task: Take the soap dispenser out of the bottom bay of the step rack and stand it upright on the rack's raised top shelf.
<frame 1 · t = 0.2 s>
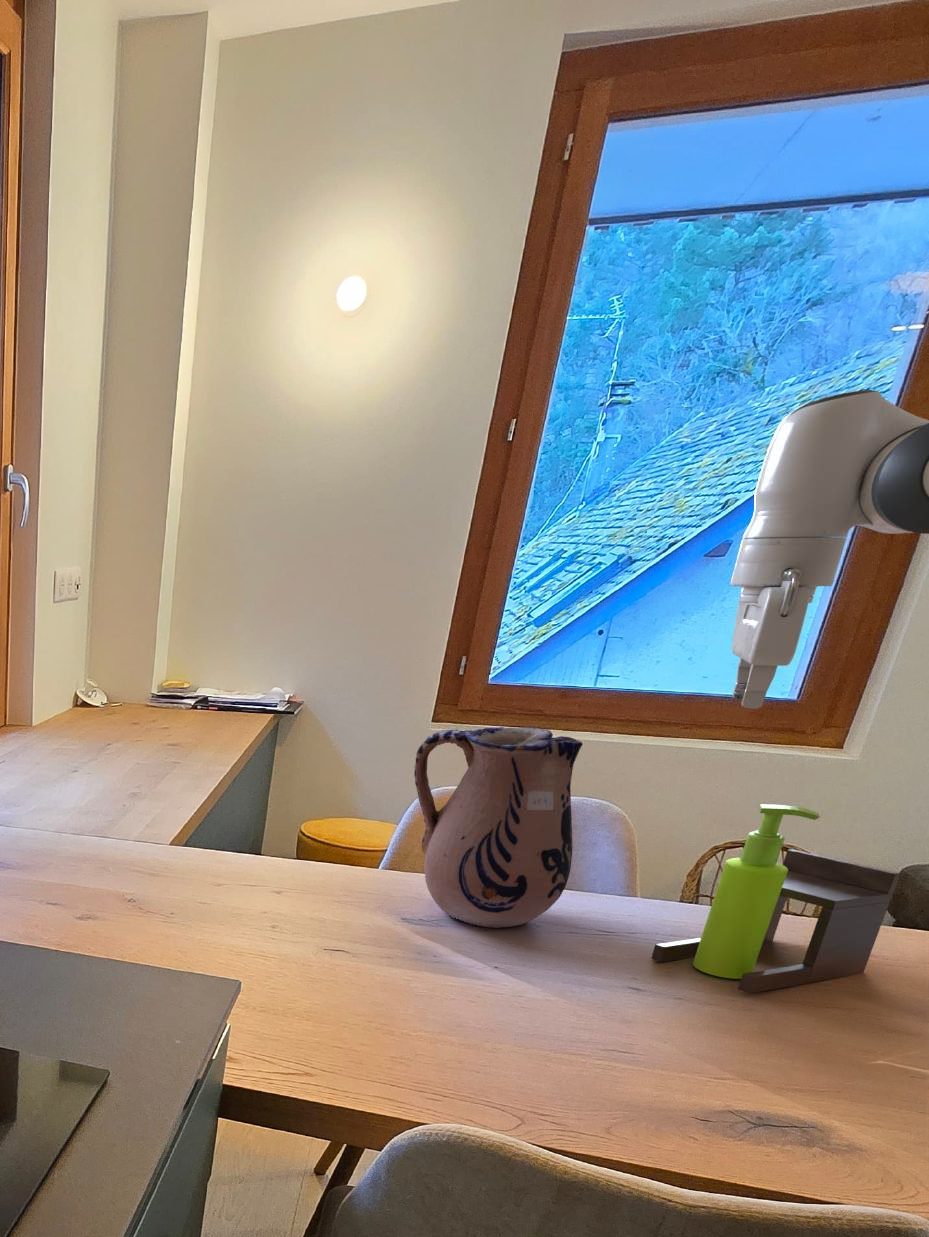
hand: (745, 703, 115), 31 cm above the table, tool pointing down, fingers open, 8 cm apart
soap dispenser: (726, 971, 125), on the table
ceramic pitcher: (469, 917, 144), on the table
rack: (755, 966, 126), on the table
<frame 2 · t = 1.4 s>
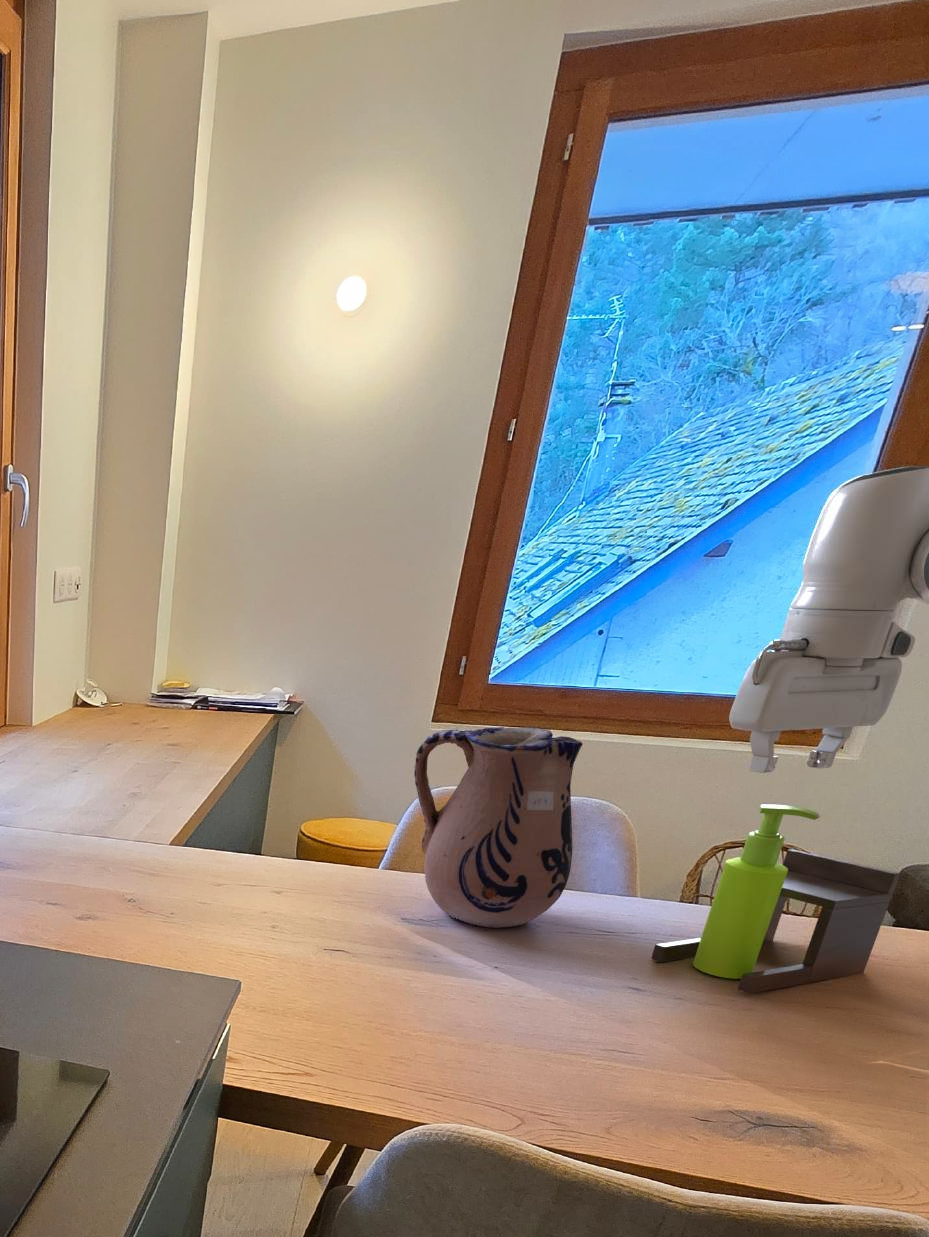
hand: (789, 769, 115), 24 cm above the table, tool pointing down, fingers open, 8 cm apart
nothing on the table moved.
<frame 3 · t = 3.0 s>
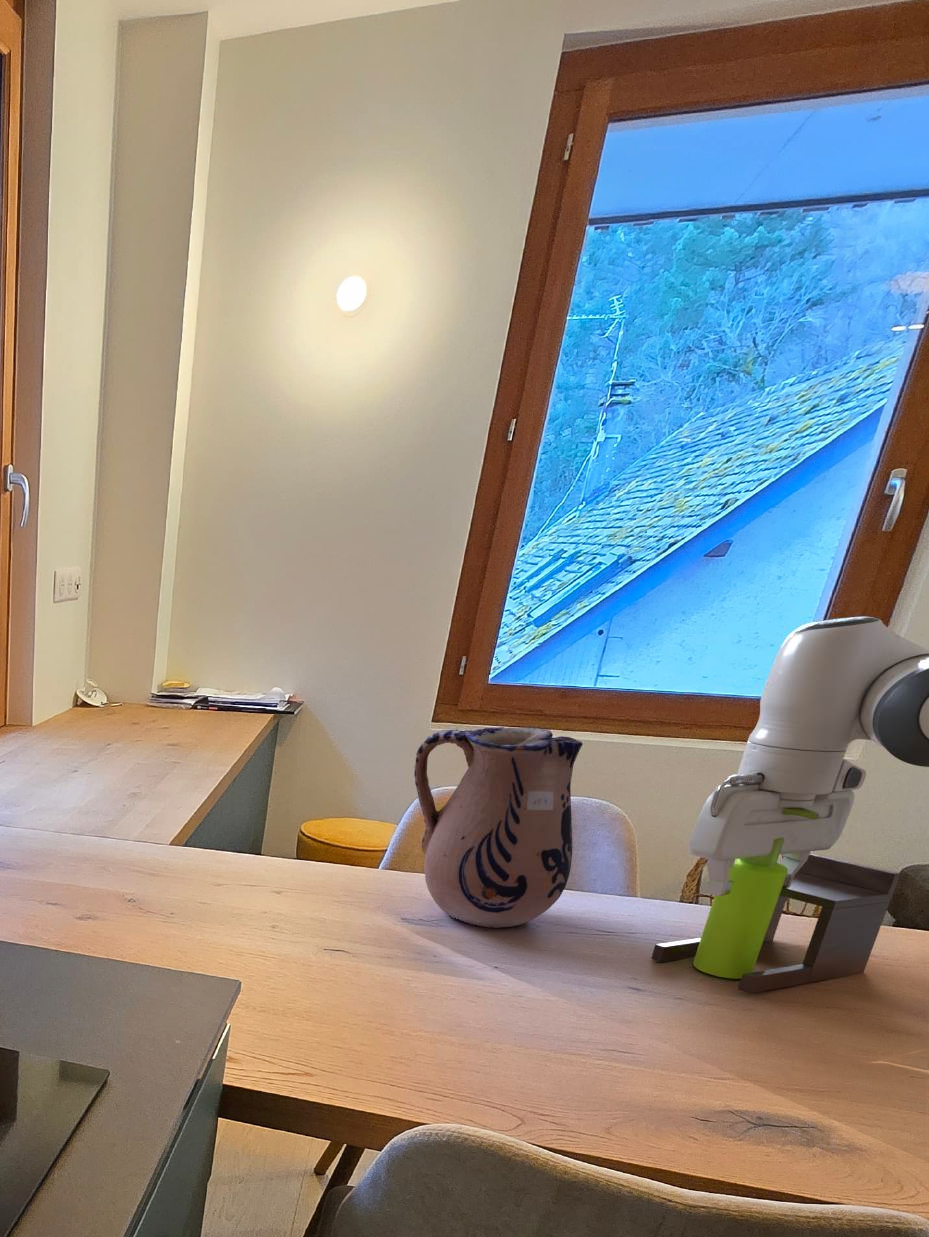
hand: (747, 891, 121), 10 cm above the table, tool pointing down, fingers open, 8 cm apart
nothing on the table moved.
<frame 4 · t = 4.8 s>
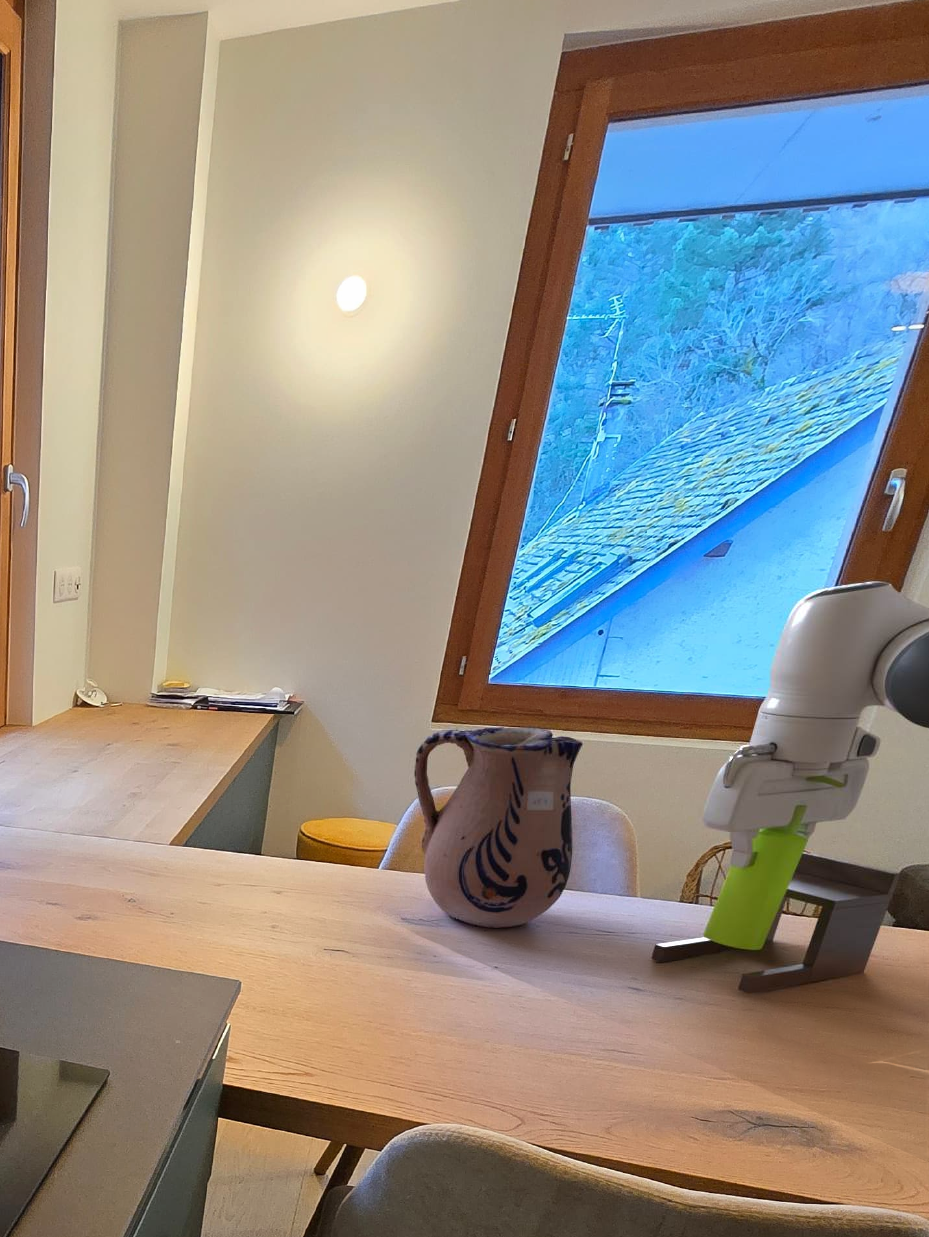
hand: (763, 863, 119), 13 cm above the table, tool pointing down, fingers closed on soap dispenser, 6 cm apart
soap dispenser: (736, 944, 123), point 4 cm above the table, touching gripper
everything else where it was.
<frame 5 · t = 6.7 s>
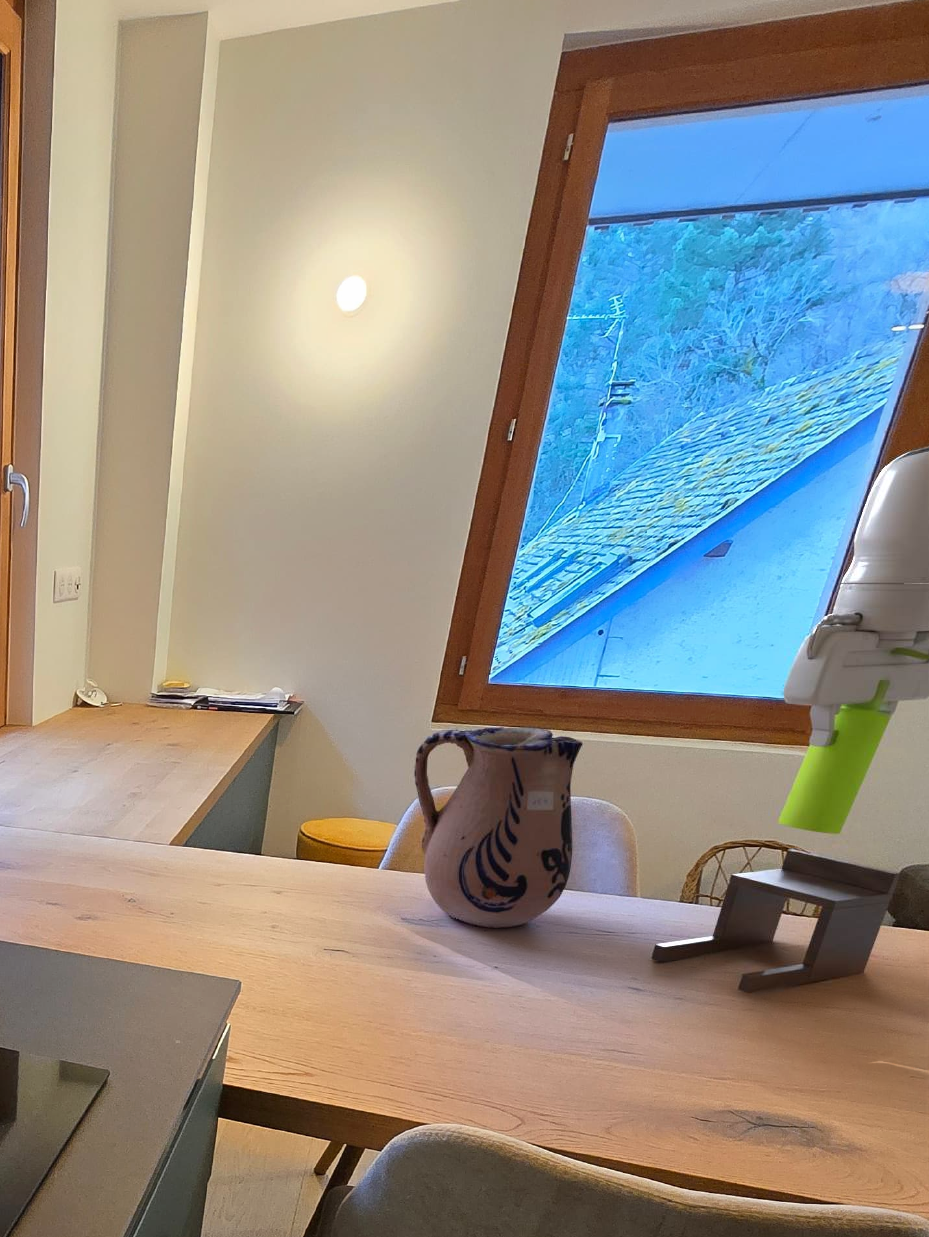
hand: (842, 744, 116), 27 cm above the table, tool pointing down, fingers closed on soap dispenser, 6 cm apart
soap dispenser: (813, 830, 120), point 17 cm above the table, touching gripper
everything else where it was.
when the fingers open (20 cm above the table, at t = 9.0 s): soap dispenser stays where it is, resting on rack.
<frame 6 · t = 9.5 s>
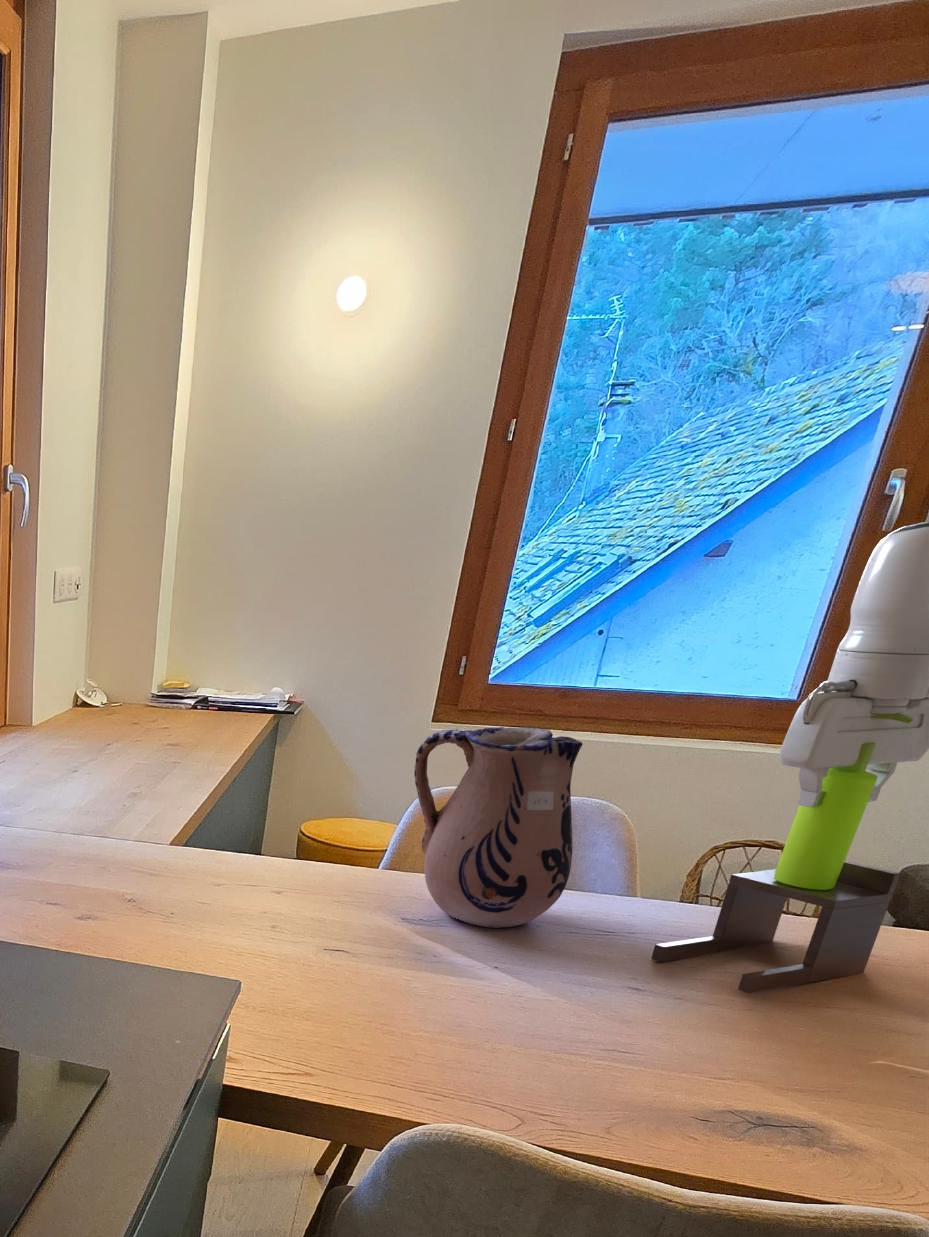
hand: (836, 803, 120), 20 cm above the table, tool pointing down, fingers open, 8 cm apart
soap dispenser: (808, 884, 123), point 10 cm above the table, touching gripper, rack
everything else where it was.
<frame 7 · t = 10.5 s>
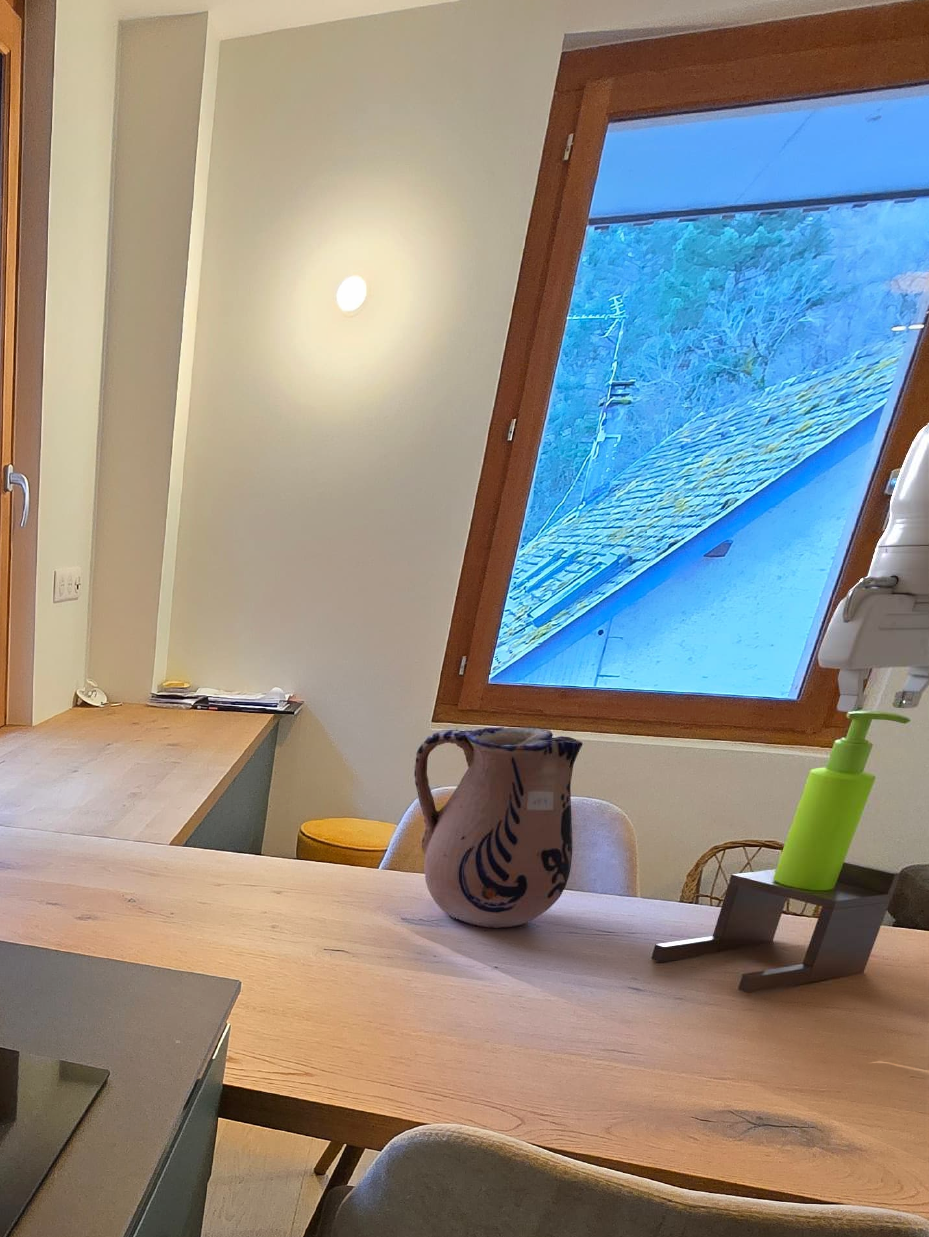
hand: (876, 709, 116), 30 cm above the table, tool pointing down, fingers open, 8 cm apart
nothing on the table moved.
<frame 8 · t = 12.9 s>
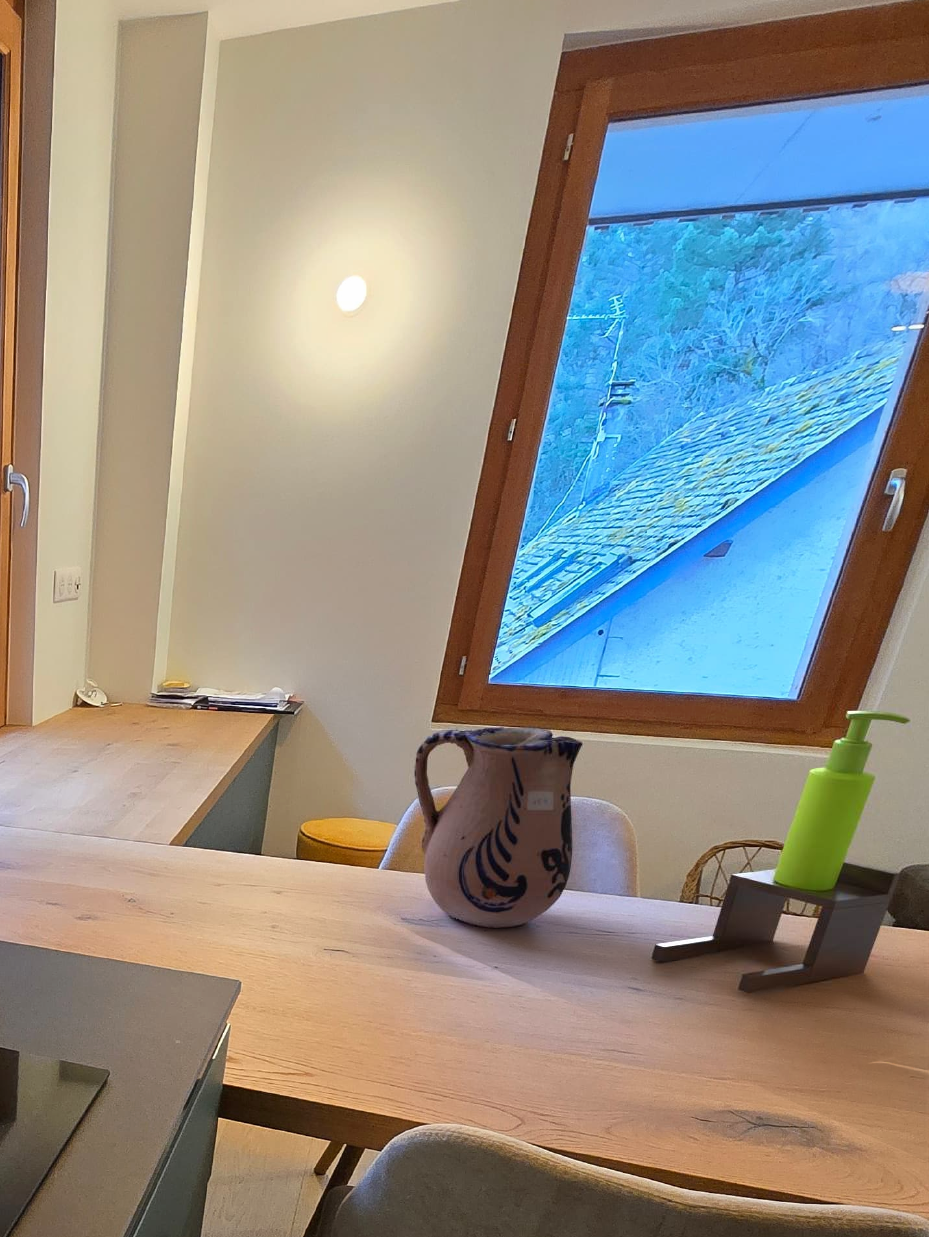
soap dispenser: (808, 884, 123), point 10 cm above the table, touching rack
everything else where it was.
at the end: soap dispenser inside the target area on the rack (0.7 cm from its centre), point 10.0 cm above the rack's base; soap dispenser tilted 3°; the gripper is holding nothing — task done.
